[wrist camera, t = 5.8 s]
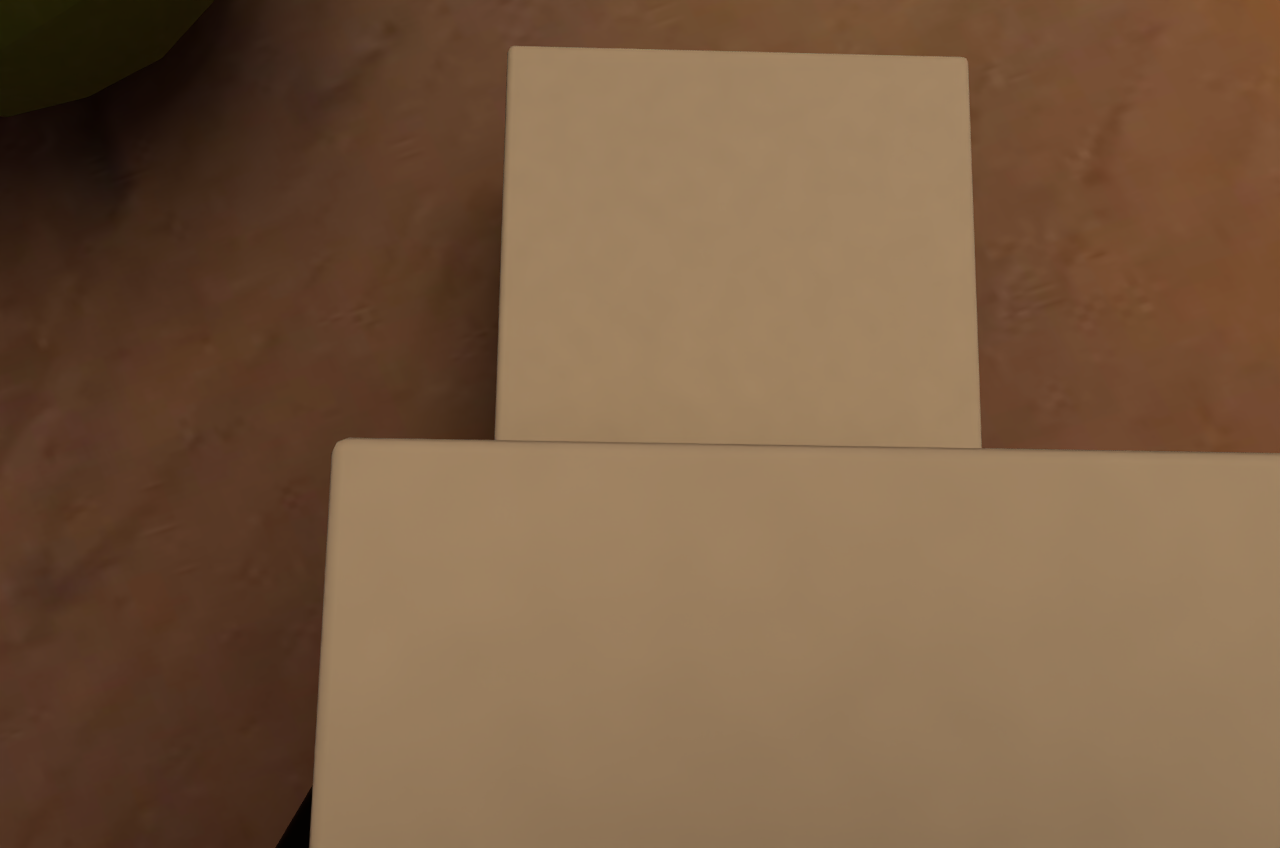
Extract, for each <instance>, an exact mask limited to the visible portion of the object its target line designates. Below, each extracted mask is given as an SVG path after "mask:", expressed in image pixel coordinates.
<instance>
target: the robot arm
mask: <svg viewBox="0 0 1280 848" xmlns="http://www.w3.org/2000/svg"><path fill="white" fill-rule="evenodd" d="M312 789H313V785H312V787H311V789H310V790H309V792H308V794H307V795H306V797H305V799H304V801H303V802H302V804H301V806H300V807H299V809H298V811H297V812H296V814H295V816H294V817H293V819H292V821H291V822H290V824H289V826H288V827H287V829H286V831H285V832H284V834H283V836H282V838H281V839H280V841H279V843H278V844H277V846H276V848H309V842H310V824H311V807H312Z"/></svg>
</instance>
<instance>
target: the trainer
mask: <svg viewBox="0 0 1280 848" xmlns="http://www.w3.org/2000/svg"><path fill="white" fill-rule="evenodd" d="M309 848H1280V453H1238V452H1178V451H1118V450H1058V449H999V448H982V441H981V413H980V385H979V357H978V328H977V300H976V272H975V244H974V216H973V188H972V160H971V131H970V103H969V75H968V62H967V59H966V58H963V57H938V56H898V55H857V54H817V53H777V52H736V51H696V50H656V49H616V48H575V47H535V46H513V47H510V49H509V51H508V53H507V82H506V112H505V141H504V170H503V200H502V229H501V259H500V288H499V317H498V347H497V376H496V406H495V435H494V440H459V439H399V438H346V439H344V440H341V441H339V442H337V443H336V445H335V447H334V449H333V451H332V457H331V474H330V492H329V509H328V527H327V544H326V562H325V579H324V597H323V614H322V632H321V649H320V667H319V684H318V702H317V719H316V737H315V754H314V772H313V789H312V807H311V824H310V842H309Z"/></svg>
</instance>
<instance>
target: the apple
mask: <svg viewBox="0 0 1280 848" xmlns="http://www.w3.org/2000/svg"><path fill="white" fill-rule="evenodd" d="M213 2H214V0H0V116H5V117H10V116H14V115H18V114H22V113H26V112H30V111H34V110H38V109H42V108H46V107H50V106H54V105H58V104H62V103H66V102H70V101H74V100H78V99H82V98H86V97H89V96H91V95H93V94H95V93H97V92H99V91H101V90H103V89H105V88H106V87H108V86H110V85H112V84H114V83H116V82H118V81H120V80H122V79H123V78H125V77H127V76H129V75H131V74H133V73H135V72H137V71H139V70H140V69H142V68H144V67H146V66H148V65H150V64H152V63H154V62H156V61H157V60H159V59H161V58H163V57H164V55H165V54H166V53H167V52H168V51H169V50H170V49H171V48H172V47H173V46H174V44H175V43H176V42H177V41H178V40H179V39H180V38H181V37H182V36H183V35H184V33H185V32H186V31H187V30H188V29H189V28H190V27H191V26H192V25H193V24H194V22H195V21H196V20H197V19H198V18H199V17H200V16H201V15H202V14H203V13H204V11H205V10H206V9H207V8H208V7H209V6H210V5H211V4H212V3H213Z"/></svg>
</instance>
